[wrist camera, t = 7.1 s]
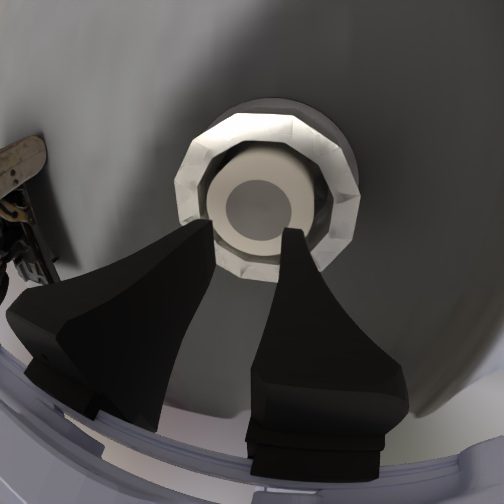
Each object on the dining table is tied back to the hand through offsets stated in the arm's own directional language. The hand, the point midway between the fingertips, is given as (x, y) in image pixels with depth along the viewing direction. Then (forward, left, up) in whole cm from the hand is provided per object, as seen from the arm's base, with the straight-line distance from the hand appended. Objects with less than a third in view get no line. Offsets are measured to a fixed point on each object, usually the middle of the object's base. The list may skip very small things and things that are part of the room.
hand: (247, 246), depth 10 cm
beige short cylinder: (0, 0, -7) cm, 7 cm away
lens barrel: (0, 0, -7) cm, 7 cm away
